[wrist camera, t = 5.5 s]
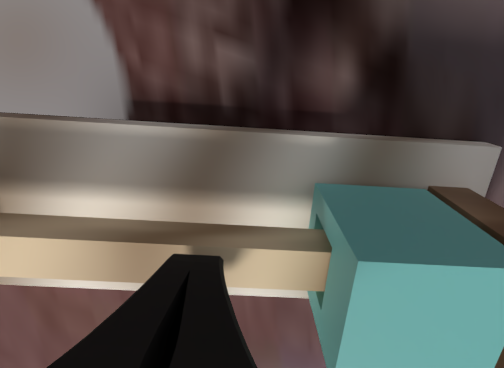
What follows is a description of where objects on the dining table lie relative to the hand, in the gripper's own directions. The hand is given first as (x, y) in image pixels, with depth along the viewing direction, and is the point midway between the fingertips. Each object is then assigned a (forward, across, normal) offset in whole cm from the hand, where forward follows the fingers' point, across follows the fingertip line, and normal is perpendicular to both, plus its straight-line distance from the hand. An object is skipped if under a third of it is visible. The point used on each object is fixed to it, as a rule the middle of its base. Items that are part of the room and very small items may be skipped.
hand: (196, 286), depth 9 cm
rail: (+5, 0, 0) cm, 5 cm away
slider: (+4, -6, 0) cm, 7 cm away
